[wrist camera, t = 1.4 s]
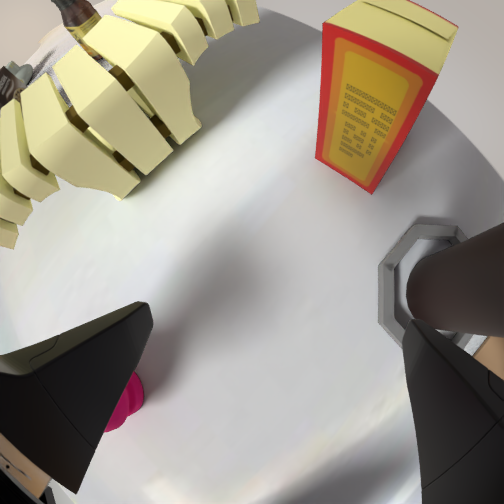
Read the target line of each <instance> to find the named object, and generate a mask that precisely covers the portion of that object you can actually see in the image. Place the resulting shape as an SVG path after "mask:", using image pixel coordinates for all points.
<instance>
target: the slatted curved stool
mask: <svg viewBox="0 0 504 504" xmlns="http://www.w3.org/2000/svg"><path fill="white" fill-rule="evenodd" d="M111 9H112V10H113V12H114V13H115V15H117V16H120V17H123V18H126V19H128V20H131V21H133V22H135V23H137V24H135V23H132V22H129V21H126V20H122V19H119V18H116V17H112V16H109V15H105V16H104V17H103V18H102V19H101V20H100V21H99V22H98V23H97V24H96V25H95V26H94V27H93V28H92V29H91V30H90V31H89V32H88V33H87V34H86V35H85V36H84V37H83V38H82V39H83V40H84V41H85V42H86V44H87V45H89V46H90V47H91V48H93V49H94V50H95V51H96V52H97V53H99V54H100V55H101V56H102V57H103V58H104V59H105V60H107V61H108V62H109V63H110V64H111V65H112V66H113V68H112V69H111V70H109V71H106V70H105V69H104V68H103V67H102V66H101V65H100V64H99V63H97V62H96V61H95V60H94V59H93V58H92V57H91V56H89V55H88V54H87V53H86V52H85V51H84V50H82V49H81V48H80V47H79V46H78V45H77V44H76V45H75V46H74V47H73V48H72V49H71V50H70V51H69V52H68V53H67V54H66V55H65V56H64V57H62V58H61V59H60V60H59V61H58V62H57V63H56V64H55V65H54V66H52V68H53V69H54V71H55V73H56V75H57V77H58V79H59V81H60V83H61V85H62V87H63V88H64V90H65V92H66V94H67V96H68V98H69V99H70V101H71V103H72V106H71V107H70V108H69V107H68V105H67V104H66V103H65V101H64V100H63V98H62V97H61V95H60V93H59V92H58V90H57V88H56V86H55V84H54V82H53V80H52V78H51V77H50V76H49V75H48V74H47V73H44V74H43V75H42V76H41V77H40V78H38V79H37V80H36V81H35V82H34V83H32V84H31V85H30V86H29V87H27V88H26V89H25V90H24V91H23V92H21V93H20V94H21V104H22V112H23V117H22V112H21V106H20V103H19V102H18V101H17V100H15V99H12V100H11V101H10V102H9V103H7V104H6V105H5V106H3V107H2V108H1V118H0V246H3V247H6V248H10V249H13V250H14V247H15V243H16V240H17V237H18V235H19V233H18V229H17V224H18V225H21V226H23V224H24V223H25V221H26V219H27V218H28V216H29V215H30V214H31V212H32V211H33V208H32V204H31V200H30V198H32V199H34V200H36V201H38V202H42V201H43V200H44V199H45V198H47V197H48V196H49V195H51V194H53V193H54V192H56V191H59V190H60V188H59V185H58V183H57V180H56V177H55V175H57V176H58V177H60V178H62V179H64V180H65V181H67V182H69V183H70V184H72V185H74V186H76V187H84V188H92V189H97V190H102V191H106V192H109V193H111V194H113V195H114V197H115V198H116V199H117V200H119V201H122V200H123V199H124V198H125V196H126V195H127V194H128V193H129V192H130V191H131V190H132V189H133V188H134V187H135V186H136V185H137V184H138V183H139V182H140V181H141V180H140V178H139V176H138V175H137V173H136V172H135V170H134V169H133V168H134V167H136V168H138V169H139V170H140V171H141V172H142V173H144V174H145V175H148V174H149V173H150V172H151V171H152V170H153V169H154V168H155V167H156V166H157V165H158V164H159V163H160V162H162V161H163V160H164V159H165V158H166V157H167V156H168V155H169V154H170V153H172V152H173V149H172V148H171V146H170V145H169V144H168V143H167V141H166V140H165V139H166V138H167V137H168V136H170V137H171V138H172V139H173V140H174V141H175V142H176V143H177V144H179V145H181V144H182V143H183V142H184V141H185V140H187V139H188V138H189V137H190V136H191V135H193V134H194V133H195V132H196V131H197V130H199V129H200V128H201V127H202V124H201V122H200V120H199V119H198V118H196V117H195V116H194V115H193V112H192V107H191V100H190V81H189V79H188V77H187V75H186V73H185V71H184V69H183V68H182V66H181V64H180V62H179V60H178V58H177V57H179V58H180V59H182V60H184V61H186V62H188V63H190V64H191V65H193V66H194V65H195V63H196V61H197V60H198V58H199V57H200V55H201V54H202V53H203V52H204V51H205V50H206V49H207V48H208V47H209V46H208V44H207V41H206V38H205V36H206V35H207V36H209V37H212V38H214V39H219V38H220V37H222V36H224V35H225V34H227V33H229V32H231V31H233V30H234V26H233V23H235V24H238V25H240V26H247V25H250V24H254V23H259V22H260V20H259V15H258V10H257V5H256V1H255V0H118V1H117V3H116V4H115V5H114V6H113V7H112V8H111ZM139 107H140V108H141V109H142V110H143V111H144V112H145V113H146V114H147V115H148V116H149V117H150V119H148V118H147V116H146V115H145V114H144V113H143V111H142V110H141V109H140V108H139ZM23 119H24V120H23Z"/></svg>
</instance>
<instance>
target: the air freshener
mask: <svg viewBox="0 0 504 504" xmlns="http://www.w3.org/2000/svg"><path fill="white" fill-rule="evenodd" d="M6 68H7V69H8V70H9V71H10V72H11V73H12V74H13V75H15V76H16V77H17V78H18V79H19V80H20V81H21V82H23V83H24V84H25V85H27V84H28V82H29V80H30V79H31V76H32V73H33V68H32V66H31V65H29V64H26V65H23V66H21V67H19V66H18V65H17V64H15V63H14V62H13V61H11V62H10V63H9V64H8V65H7V66H6Z"/></svg>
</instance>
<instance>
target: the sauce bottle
mask: <svg viewBox="0 0 504 504" xmlns="http://www.w3.org/2000/svg"><path fill="white" fill-rule="evenodd" d="M51 1H52V2H54V3H55V4H56V6H57V7H58V8H59V10H60V11H61V15H62V19H63V24H64V27H65V28H66V29H67V30H68V31H69V32H70V34H71V35H72V36H73V37H74V38H75V40H76V41H77V42H78V43H79V44H80V45H81V47H82V48H83V49H84V50H85V51H86V52H87V54H88V55H89V56H91V57H92V58H93V59H95V60H99V59H101V58H103V57H102V56H101V55H100V54H99V53H97V52H96V51H95V50H94V49H93V48H91V47H90V46H89V45H87V44H86V42H85V41H84V40H83V39H82V38H83V37H84V36H85V35H86V34H87V33H88V32H89V31H90V30H91V29H92V28H93V27H94V26H95V25H96V24H97V23H98V22H99V21H100V20H101V19H102V18H101V16H100V15H99V14H98V12H97V11H96V10H95V9H94V8H93V7H92V5H91V3H89V2H88V1H86V0H51Z"/></svg>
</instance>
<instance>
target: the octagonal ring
mask: <svg viewBox="0 0 504 504" xmlns="http://www.w3.org/2000/svg"><path fill="white" fill-rule="evenodd" d="M417 239H437V240H449V241H450V242H451V244H452V245H453V246H454V245H456V244H459V243H461V242H463V241H465V240H468V238H467V237H466V236H465V235H464V233H463V232H462V231H461V230H460V229H459V227H458V226H447V225H426V224H415V225H413V226H412V227H411V228H409V230H408V231H407V232H406V233H405V235H404V236H403V237H402V238H401V240H400V241H399V242H398V243H397V244H396V246H395V247H394V248H393V249H392V250H391V252H390V253H389V254H388V255H387V256H386V258H385V259H384V260H383V261H382V262H381V263H380V264H379V266H378V323H379V324H380V325H381V326H382V327H383V328H384V330H385V331H386V332H387V333H388V334H389V335H390V336H391V337H392V338H393V339H394V341H395V342H396V343H397V344H398V345H399V346H400V347H401V348H402V339H403V336H404V333H405V330H404V329H403V327H402V326H401V325H400V324H399V323H398V322H397V321H396V320H395V319H394V268H395V267H396V265H397V264H398V263H399V262H400V260H401V259H402V258H403V257H404V256H405V254H406V253H407V252H408V251H409V249H410V248H411V247H412V246H413V244H414V243H415V242H416V240H417ZM473 335H474V334H467V333H460V332H457V333H456V335H455V336H454V338H453V339H452V340H451V341H452V342H453V343H455V344H456V345H458V346H459V347H460V348H462V349H464V348H465V346H466V345H467V343H468V342H469V340H470V339H471V338H472V336H473Z"/></svg>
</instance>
